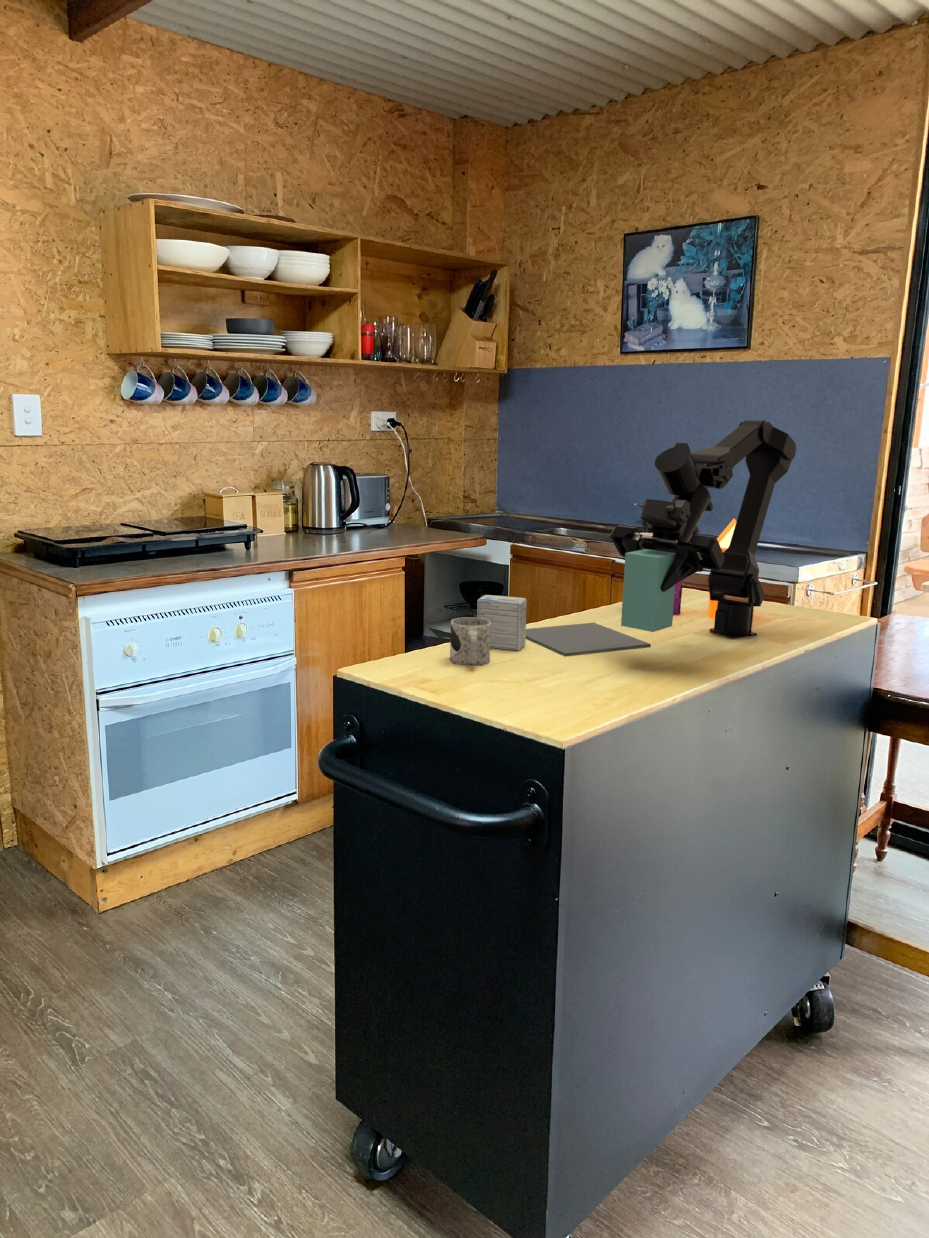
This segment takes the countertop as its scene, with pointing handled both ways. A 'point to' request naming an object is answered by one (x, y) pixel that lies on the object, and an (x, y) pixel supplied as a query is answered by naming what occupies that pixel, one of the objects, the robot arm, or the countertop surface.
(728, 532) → the orange juice
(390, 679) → the countertop surface
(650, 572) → the teal block
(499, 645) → the medicine box
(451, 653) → the mug
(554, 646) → the charcoal mat
